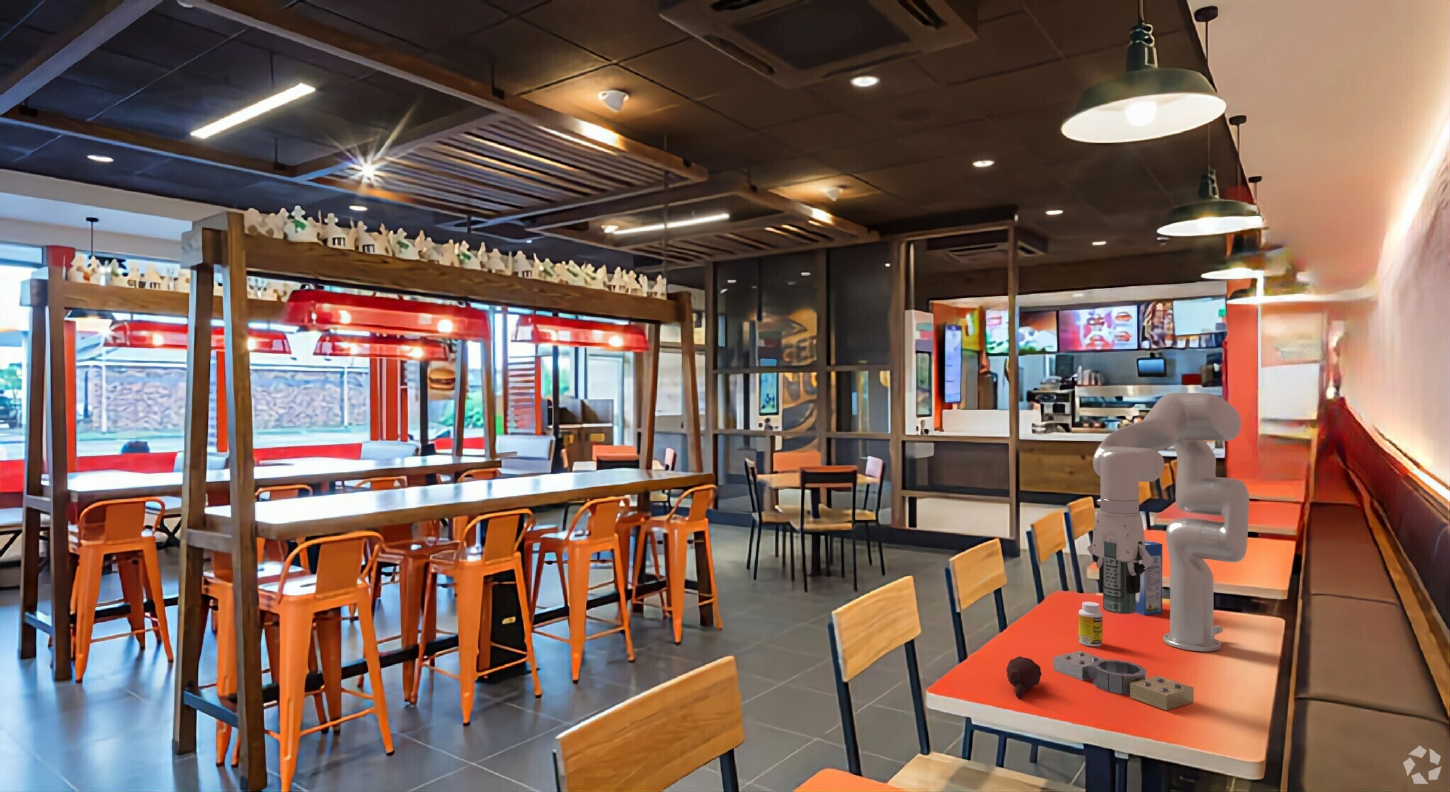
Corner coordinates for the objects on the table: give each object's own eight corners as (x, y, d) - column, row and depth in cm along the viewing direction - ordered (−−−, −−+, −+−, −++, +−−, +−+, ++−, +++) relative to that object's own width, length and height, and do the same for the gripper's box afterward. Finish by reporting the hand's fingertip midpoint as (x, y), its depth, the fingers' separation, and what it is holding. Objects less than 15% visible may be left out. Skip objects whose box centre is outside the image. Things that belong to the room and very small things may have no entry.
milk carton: (1162, 613, 236) (1162, 543, 236) (1144, 615, 235) (1144, 545, 234) (1136, 604, 246) (1136, 537, 246) (1118, 606, 244) (1118, 538, 244)
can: (1140, 611, 179) (1140, 541, 179) (1124, 615, 176) (1124, 545, 176) (1114, 604, 184) (1114, 537, 184) (1097, 608, 181) (1097, 540, 181)
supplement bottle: (1094, 648, 205) (1094, 607, 205) (1073, 642, 210) (1074, 602, 210) (1107, 644, 208) (1107, 604, 208) (1086, 639, 213) (1087, 599, 213)
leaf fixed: (1082, 663, 195) (1082, 646, 195) (1156, 689, 178) (1156, 670, 178) (1051, 670, 190) (1051, 652, 190) (1124, 697, 173) (1124, 678, 173)
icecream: (1010, 646, 188) (992, 671, 175) (1043, 643, 184) (1027, 668, 171) (1019, 676, 187) (1002, 703, 175) (1052, 674, 183) (1037, 701, 171)
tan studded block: (1157, 689, 177) (1157, 674, 177) (1193, 701, 170) (1193, 686, 170) (1130, 697, 173) (1130, 681, 173) (1166, 710, 166) (1166, 694, 166)
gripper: (1074, 503, 186) (1074, 582, 186) (1143, 513, 170) (1143, 600, 171) (1097, 500, 189) (1097, 579, 189) (1167, 511, 174) (1167, 596, 174)
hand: (1119, 588), depth 180 cm, fingers closed on can, 6 cm apart
